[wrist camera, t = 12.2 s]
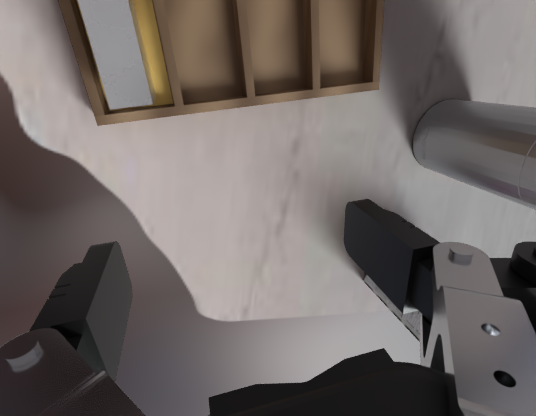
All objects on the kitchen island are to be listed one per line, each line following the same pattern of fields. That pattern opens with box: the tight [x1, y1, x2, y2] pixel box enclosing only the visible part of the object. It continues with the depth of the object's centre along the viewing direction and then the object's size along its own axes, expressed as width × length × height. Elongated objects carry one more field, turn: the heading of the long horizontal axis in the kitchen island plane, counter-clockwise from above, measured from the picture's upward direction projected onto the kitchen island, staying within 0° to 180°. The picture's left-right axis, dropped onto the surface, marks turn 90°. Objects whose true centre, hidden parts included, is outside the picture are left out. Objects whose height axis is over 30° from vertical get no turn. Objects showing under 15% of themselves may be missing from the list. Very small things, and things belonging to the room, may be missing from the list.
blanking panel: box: [78, 0, 156, 110], centre depth 24 cm, size 3×10×7 cm, turn 6°
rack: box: [58, 0, 384, 126], centre depth 29 cm, size 28×14×3 cm, turn 96°
